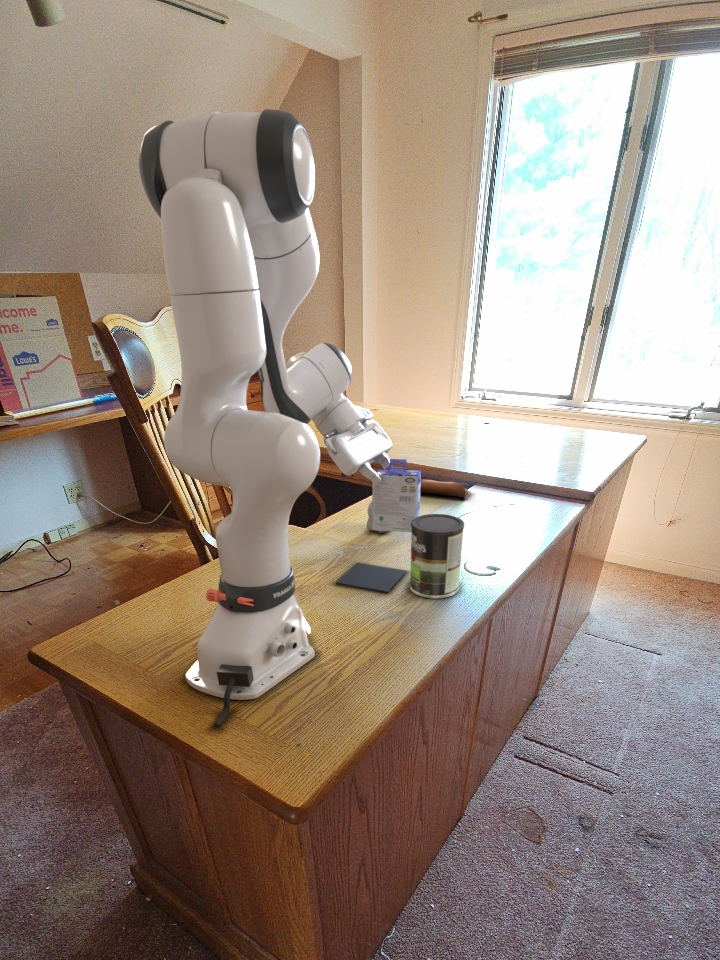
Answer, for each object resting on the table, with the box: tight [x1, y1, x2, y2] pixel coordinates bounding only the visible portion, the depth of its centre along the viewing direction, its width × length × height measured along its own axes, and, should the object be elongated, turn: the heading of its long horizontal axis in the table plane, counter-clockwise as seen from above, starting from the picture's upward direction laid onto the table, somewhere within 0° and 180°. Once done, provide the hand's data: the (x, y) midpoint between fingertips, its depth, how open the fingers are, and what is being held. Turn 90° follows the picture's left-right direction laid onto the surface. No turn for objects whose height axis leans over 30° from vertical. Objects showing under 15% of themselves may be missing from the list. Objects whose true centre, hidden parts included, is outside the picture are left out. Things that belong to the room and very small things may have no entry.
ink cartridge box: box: [371, 458, 422, 533], centre depth 119 cm, size 10×6×14 cm, turn 78°
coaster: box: [335, 562, 408, 594], centre depth 121 cm, size 11×12×1 cm
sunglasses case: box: [420, 478, 472, 500], centre depth 170 cm, size 18×7×7 cm, turn 64°
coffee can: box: [409, 513, 465, 600], centre depth 112 cm, size 10×10×14 cm
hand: (386, 478), depth 118 cm, fingers closed on ink cartridge box, 6 cm apart
